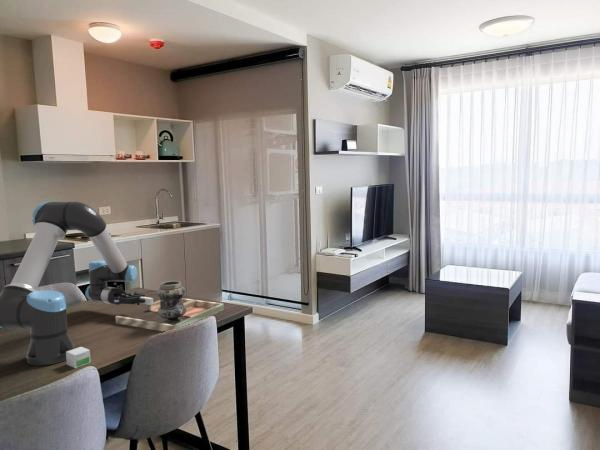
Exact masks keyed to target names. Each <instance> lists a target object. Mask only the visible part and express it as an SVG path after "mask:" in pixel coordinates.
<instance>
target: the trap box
mask: <svg viewBox="0 0 600 450" xmlns="http://www.w3.org/2000/svg"><path fill="white" fill-rule="evenodd" d="M183 305H185V306H186V308H187V311H186V313H185V314H184V315H183V316H182V317H187V319H183V320H184V321H182V322H179V323H177V324H175V325H171V324H165V323H162V322H159V321H158V322H157V321H152V320H145V319H139V318H135V317H134V318H133V317H129V316H122V315H116V316H115V324H117V325H124V326H130V327H135V328H142V329H148V330H153V331H157V332H163V331H167V330H172V329H176V328H179V327H182V326H185V325H188V324H192V323H194V322H197V321H199V320H201V319H204V318H206V317H208V318H210V317H212V316H214V315H216V314H218V313H220V312H223V311H224V310H225V309H224V308H225V306H224V303H222V302H215V301H214V302H213V301H206V300H199V299H192V298H183ZM159 308H160V299H159V300H155V301H153V304H152V305H148V304H147V312H152V313H153V312H154V313H158V309H159ZM219 311H220V312H219ZM209 316H210V317H209ZM206 319H207V318H206ZM204 320H205V319H204ZM197 323H198V322H197Z"/></svg>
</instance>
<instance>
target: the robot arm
mask: <svg viewBox="0 0 600 450" xmlns="http://www.w3.org/2000/svg"><path fill="white" fill-rule="evenodd" d="M32 212H33V213H32V216H31V217H32V224H33V228H34V231H35V233H34V235H33V237H32V240H31V241H30V244H29V245H28V248H27V250H26V251H25V254H24V256H23V258H22V259H21V262H20V264H19V266H18V268H17V270H16V272H15V274H14V276H13V278H12V280H11V282H10V284H6V285H4V287H3V288H2V290H1V292H0V329H4V330H8V329H14V330H15V329H17V330H19V329H20V330H29V332H30V333H29V334H30V341H29V346H28V348H27V353H26V362H27V364H29V365H32V366H50V365H53V364H54V365H55V364H59V363H62V362H64V361H67V359H66V352H67V351H70V350H73V349H76V348H75V345H74V343H73V341H72V339H71V337H70V335H69V330H68V318H67V303H66V297H65V296H64V294H63V293H62V292H60V291H56V290H47V289H46V290H37V289H38V288H39V285H40V282H41V280H42V278H43V276H44V273H45V271H46V269H47V267H48V265H49V263H50V261H51V258H52V256H53V253H54V251H55V249H56V247H57V245H58V243H59V240H62V239H64V238H65V237H66V234H67V233H68V231H79V232H80V233H82V234H83V235H84V237H86V238H89V239H90V241H91V243H92V244H93V246H94V247H95V248H96V251H98V253H99V254H100V256H101V258H102V259H99V260H93V261H90V262H89V263H88V277H89V285H88V286H87V288H86V290H85V291H84V292H85V294H84V295H85V297H86V299H88V300H90V301H93V302H97V303H105V304H108V305H117V306H119V305H123V304H124V305H137V306H140V304H142V305H143V304H144V305H147V306H148V305H152V304H153V303H154V298H153V297H147V296H146V295H145V294H143V293H141V292H137V291H133V292H132V293H131V292H127V291H125V290H124V289H123V288H119V287H112V286H108V282H124V283H126V282H134V281H135V280H136V278H137V276H138V275H137V274H138V269H137V266H135V265H131V264H128V262H127V261H126V259H125V258H124V256H123V254H122V253H121V251H120V250H119V248H118V247H117V244H116V243H115V241H114V239H113V238H112V236H111V234H110V233H109V231H108V229H107V222H106V221H105V220H104V218H103V217H102V216H101V215H100V213H99V212H98V211H97V210H96V209H94V208H93V207H92V206H90V205H89V204H87V203H84V202H82V201H51V200H50V201H44V202H41V203H39V204H38V205H37V206H36V207H35V208H34V210H33V211H32Z"/></svg>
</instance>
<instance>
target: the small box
mask: <svg viewBox="0 0 600 450" xmlns="http://www.w3.org/2000/svg"><path fill="white" fill-rule="evenodd" d="M66 359H67V360H66V365H67V366H69V367H71V368H74V369H77V368H80V367H83V366H85V365H88V364H91V350H90V349H88V348H86V347H83V346H78V347H76V348H75V349H73V350H70V351H67V352H66Z"/></svg>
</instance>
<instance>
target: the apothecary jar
mask: <svg viewBox="0 0 600 450" xmlns="http://www.w3.org/2000/svg"><path fill="white" fill-rule="evenodd" d="M159 285H160V286H159V288H158V289H157V290H156V295H157V296H158V298H159V300H160V308H159V309H158V312H157V315H158V316H159V317H160V318H163V319H165V320H163V321H162V322H161V323H165V324H171V325H175V324H177V323H179V322H182V321H184V320H185V319H182V318H181V317H184V316H183V315H184V314H185V313H186V311H187V308H186V306H185V305H183V297H184V295H185V293H186V288H185V287H184V286H182V283H181V281H179V280H169V281H164V282H161V283H160V284H159Z"/></svg>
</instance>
